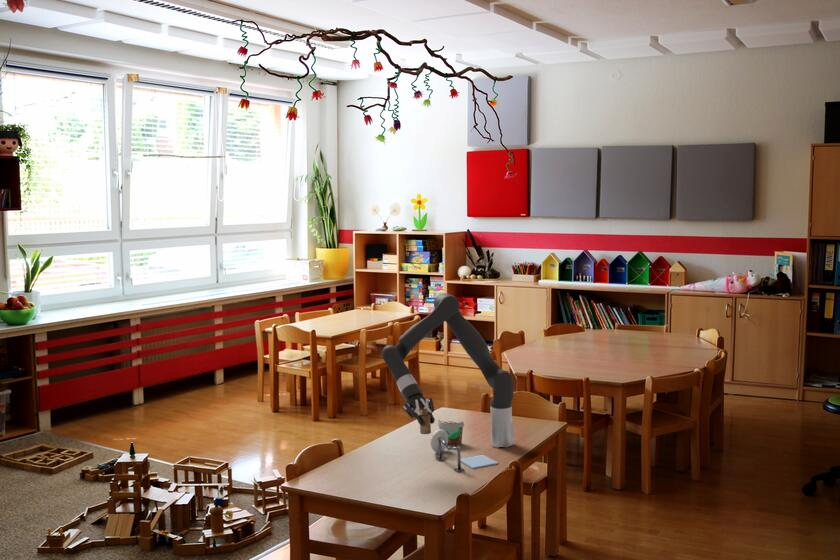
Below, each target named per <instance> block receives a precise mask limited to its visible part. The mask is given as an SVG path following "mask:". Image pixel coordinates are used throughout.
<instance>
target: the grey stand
mask: <svg viewBox="0 0 840 560" xmlns="http://www.w3.org/2000/svg"><path fill="white" fill-rule="evenodd" d="M441 442H442V443H443V444H444V445H445V446H446V448H445V449H447V450H448V451H450V450H451V451H456V452H457V453H456V455H457V467H455V468H453V471H455V472H456V473H461V472H462V471H463V472H465V468H463V467H462V463H461V459H462V458H461V456H462V455H461V450H462V449H461V448H462V447H461V446H458V445H457V446H449V445H448V444H447V443H446V442H445V441H444V440H443V439H442V438H441V437H438V444H439V453H438V456H436V457H435V460H436V461H438V462H443V461H446V457H444V456H443V451H442V447H441ZM442 460H443V461H442Z"/></svg>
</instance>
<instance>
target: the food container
mask: <svg viewBox="0 0 840 560" xmlns="http://www.w3.org/2000/svg"><path fill="white" fill-rule="evenodd" d="M437 426H438V429H442V430H445V431H446V433H447V435H448V445H453V446H458V445H461V444H462V441H463V429H464V427H465V423H464V421H461V422H460V421H459V422H455V421H441V420H440V419H438V421H437Z"/></svg>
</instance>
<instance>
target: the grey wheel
mask: <svg viewBox="0 0 840 560" xmlns="http://www.w3.org/2000/svg"><path fill="white" fill-rule="evenodd" d="M438 437H441V438H442V439H443V440H444V441H445V442H446V443H447V444H448V435H447V433H446V431H445V430H442V429H439V428H438V429H437V430H435V431H434V432H433V434H432V435H431V438H430V447H431V449H432V451H433V452H434V453H437V454H439V443H438ZM441 447H442V452H444V451H445V449H447V448H446V446H445V445H444V444H443V443H442V442H441Z"/></svg>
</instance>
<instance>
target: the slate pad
mask: <svg viewBox="0 0 840 560" xmlns="http://www.w3.org/2000/svg"><path fill="white" fill-rule="evenodd" d="M461 464H463V465H465V466H467V467H469V469H472V470H474V469H480V468H484V467H485V468H486V467H490V466H495V465H499V462H498V461H496V460H494V459H492V458H490V457H489V456H486V455H484V454H479V455H475V456H468V457H463V458H461Z"/></svg>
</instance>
